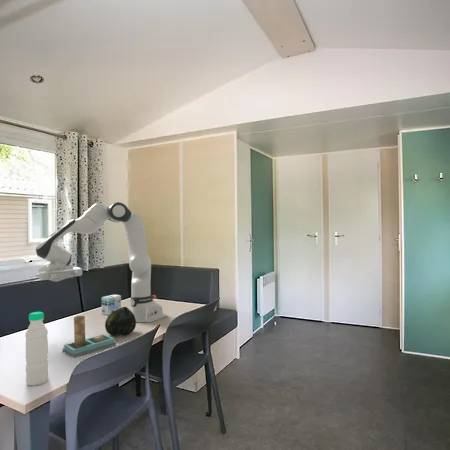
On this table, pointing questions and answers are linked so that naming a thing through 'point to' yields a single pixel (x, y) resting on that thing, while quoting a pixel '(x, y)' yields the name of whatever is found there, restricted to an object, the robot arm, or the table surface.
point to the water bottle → (36, 350)
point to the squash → (120, 322)
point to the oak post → (79, 331)
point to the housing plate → (89, 345)
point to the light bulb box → (111, 304)
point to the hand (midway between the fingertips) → (67, 275)
